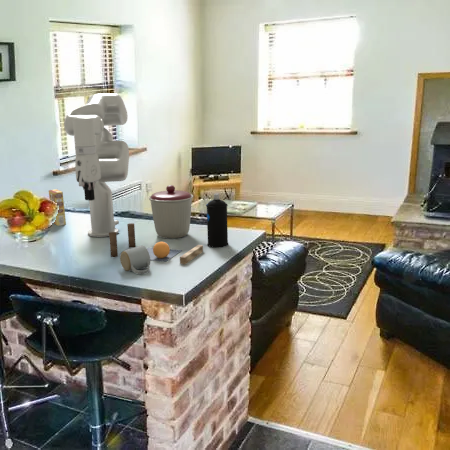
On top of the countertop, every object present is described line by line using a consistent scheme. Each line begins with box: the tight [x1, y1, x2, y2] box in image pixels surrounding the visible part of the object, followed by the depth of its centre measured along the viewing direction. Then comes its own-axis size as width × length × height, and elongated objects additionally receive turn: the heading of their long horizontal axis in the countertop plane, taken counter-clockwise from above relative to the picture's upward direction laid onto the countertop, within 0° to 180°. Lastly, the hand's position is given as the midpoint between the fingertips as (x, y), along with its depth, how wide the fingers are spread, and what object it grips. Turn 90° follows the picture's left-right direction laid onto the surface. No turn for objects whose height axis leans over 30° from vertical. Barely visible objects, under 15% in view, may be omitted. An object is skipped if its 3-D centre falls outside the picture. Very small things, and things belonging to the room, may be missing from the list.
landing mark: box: [146, 246, 183, 262], centre depth 205 cm, size 14×14×1 cm
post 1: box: [108, 232, 119, 258], centre depth 203 cm, size 3×3×9 cm
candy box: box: [48, 188, 67, 227], centre depth 254 cm, size 9×4×15 cm, turn 33°
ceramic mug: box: [119, 244, 151, 275], centre depth 187 cm, size 11×8×8 cm
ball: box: [152, 241, 171, 258], centre depth 200 cm, size 6×6×6 cm
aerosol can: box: [205, 193, 229, 249], centre depth 213 cm, size 8×8×20 cm
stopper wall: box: [179, 244, 204, 265], centre depth 200 cm, size 16×2×2 cm, turn 160°
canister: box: [148, 184, 194, 240], centre depth 228 cm, size 18×18×21 cm
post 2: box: [127, 222, 137, 249], centre depth 215 cm, size 3×3×9 cm
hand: (89, 199), depth 210 cm, fingers closed
